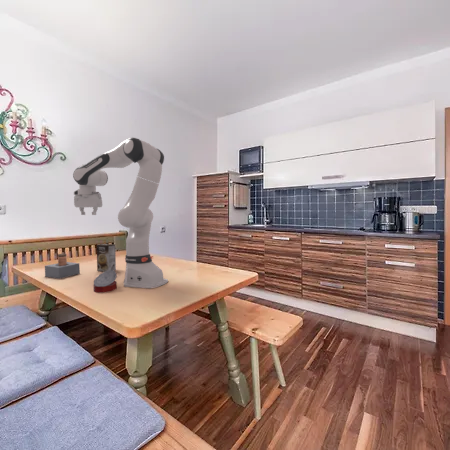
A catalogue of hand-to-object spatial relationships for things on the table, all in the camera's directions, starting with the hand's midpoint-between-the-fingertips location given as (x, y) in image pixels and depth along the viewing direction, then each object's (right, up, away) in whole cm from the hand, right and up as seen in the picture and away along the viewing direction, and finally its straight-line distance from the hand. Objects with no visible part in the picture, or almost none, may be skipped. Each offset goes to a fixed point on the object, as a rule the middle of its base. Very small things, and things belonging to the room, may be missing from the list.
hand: (88, 214), depth 153 cm
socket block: (-10, -35, -9) cm, 37 cm away
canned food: (+27, -37, -35) cm, 57 cm away
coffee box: (+10, -34, +2) cm, 36 cm away
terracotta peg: (-10, -35, -9) cm, 37 cm away
